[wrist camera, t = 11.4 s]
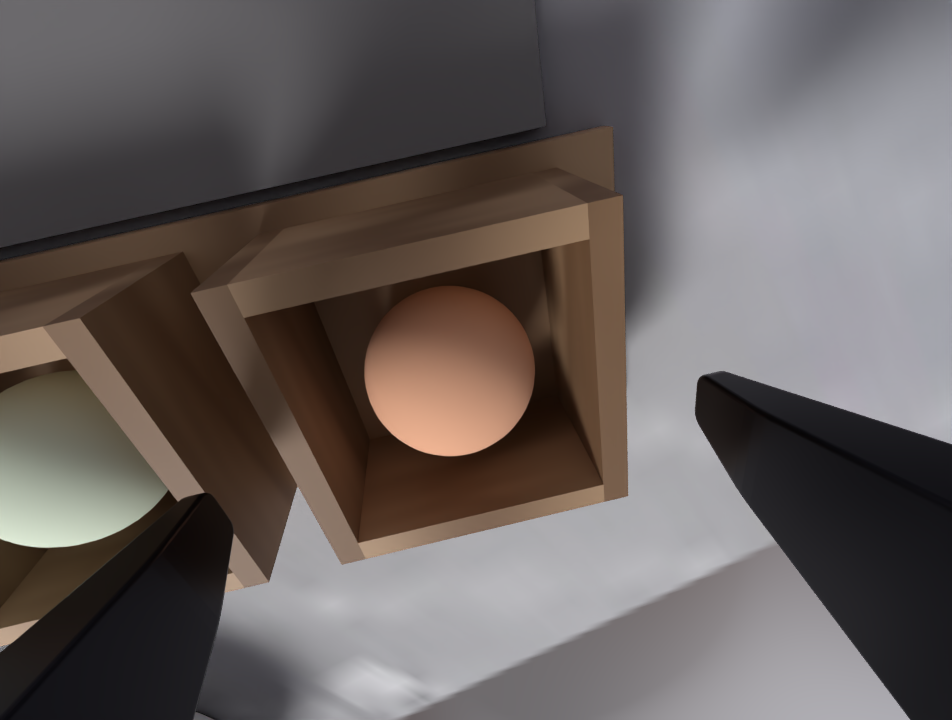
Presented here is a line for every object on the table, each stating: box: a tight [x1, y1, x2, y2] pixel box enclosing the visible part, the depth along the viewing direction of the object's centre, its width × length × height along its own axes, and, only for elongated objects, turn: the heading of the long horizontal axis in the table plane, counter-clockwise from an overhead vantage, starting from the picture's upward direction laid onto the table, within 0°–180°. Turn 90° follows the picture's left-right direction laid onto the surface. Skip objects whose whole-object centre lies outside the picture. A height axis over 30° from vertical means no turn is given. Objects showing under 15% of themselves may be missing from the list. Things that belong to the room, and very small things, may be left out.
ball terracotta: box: [364, 286, 535, 456], centre depth 11 cm, size 4×4×4 cm
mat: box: [0, 0, 546, 248], centre depth 9 cm, size 15×7×1 cm, turn 101°
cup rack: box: [0, 126, 628, 646], centre depth 11 cm, size 19×8×4 cm, turn 101°
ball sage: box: [0, 370, 168, 548], centre depth 10 cm, size 4×4×4 cm
